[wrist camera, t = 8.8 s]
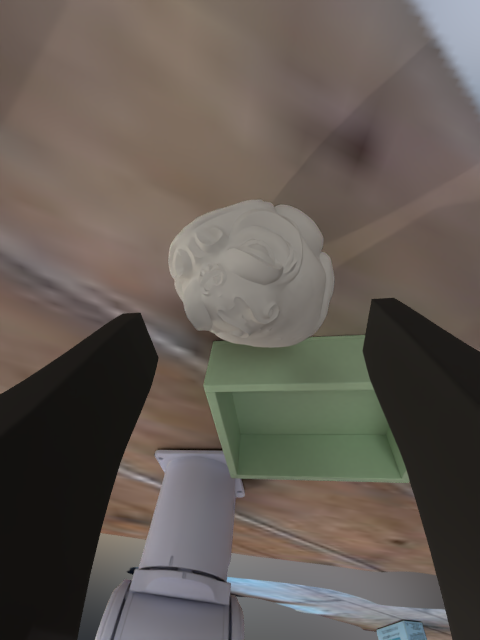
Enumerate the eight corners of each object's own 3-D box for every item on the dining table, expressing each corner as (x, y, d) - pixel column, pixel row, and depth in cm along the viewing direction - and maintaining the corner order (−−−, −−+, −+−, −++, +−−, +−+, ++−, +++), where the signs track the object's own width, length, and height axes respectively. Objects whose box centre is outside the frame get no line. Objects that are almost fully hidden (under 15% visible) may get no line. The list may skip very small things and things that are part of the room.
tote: (390, 435, 24) (408, 483, 21) (235, 434, 25) (230, 478, 22) (426, 332, 17) (460, 380, 14) (213, 340, 19) (202, 385, 16)
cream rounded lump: (258, 137, 12) (250, 164, 6) (348, 255, 15) (397, 347, 9) (169, 232, 15) (108, 310, 9) (258, 316, 17) (254, 415, 12)
